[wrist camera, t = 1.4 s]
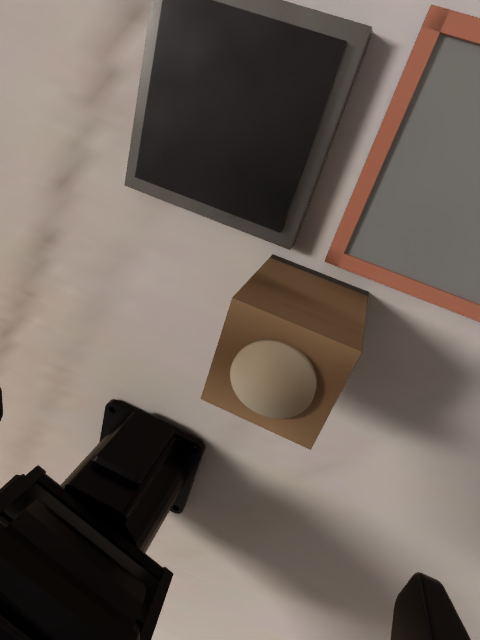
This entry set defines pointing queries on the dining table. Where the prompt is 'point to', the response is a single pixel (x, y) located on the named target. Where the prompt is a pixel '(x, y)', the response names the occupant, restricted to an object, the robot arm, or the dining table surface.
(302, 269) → the stamp
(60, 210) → the dining table surface
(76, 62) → the dining table surface
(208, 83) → the pad
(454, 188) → the tile
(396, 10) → the dining table surface
